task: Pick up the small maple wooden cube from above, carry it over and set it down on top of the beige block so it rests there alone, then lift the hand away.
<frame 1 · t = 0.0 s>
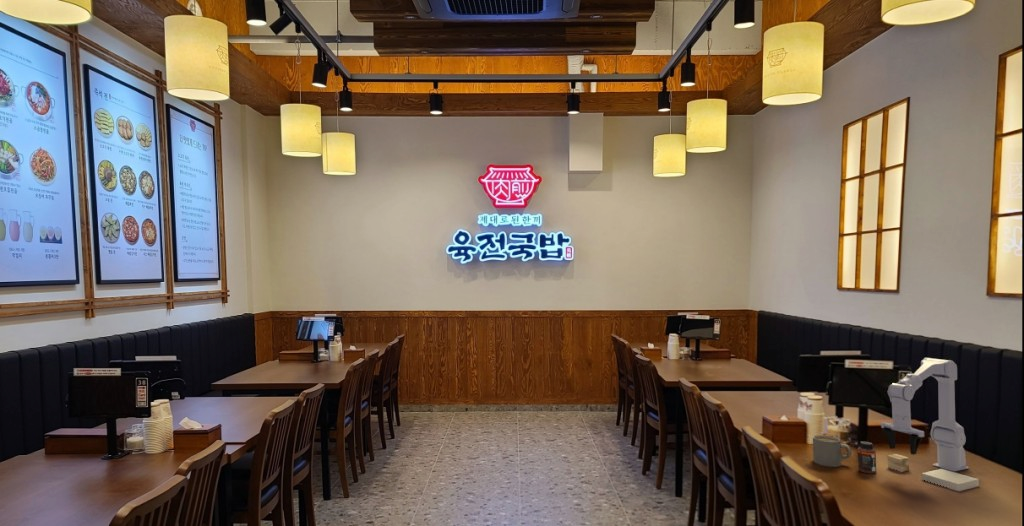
hand: (902, 451, 202), 10 cm above the table, tool pointing down, fingers open, 7 cm apart
coffee mug: (832, 463, 218), on the table
supplement bottle: (867, 472, 208), on the table
maple cube: (898, 469, 211), on the table
beige block: (950, 484, 196), on the table
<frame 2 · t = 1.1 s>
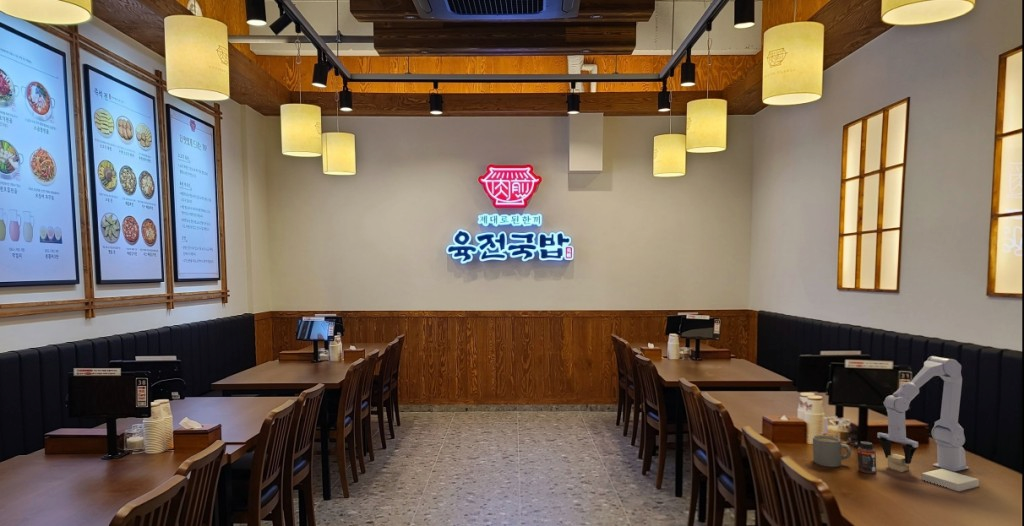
hand: (897, 460, 211), 3 cm above the table, tool pointing down, fingers open, 7 cm apart
nothing on the table moved.
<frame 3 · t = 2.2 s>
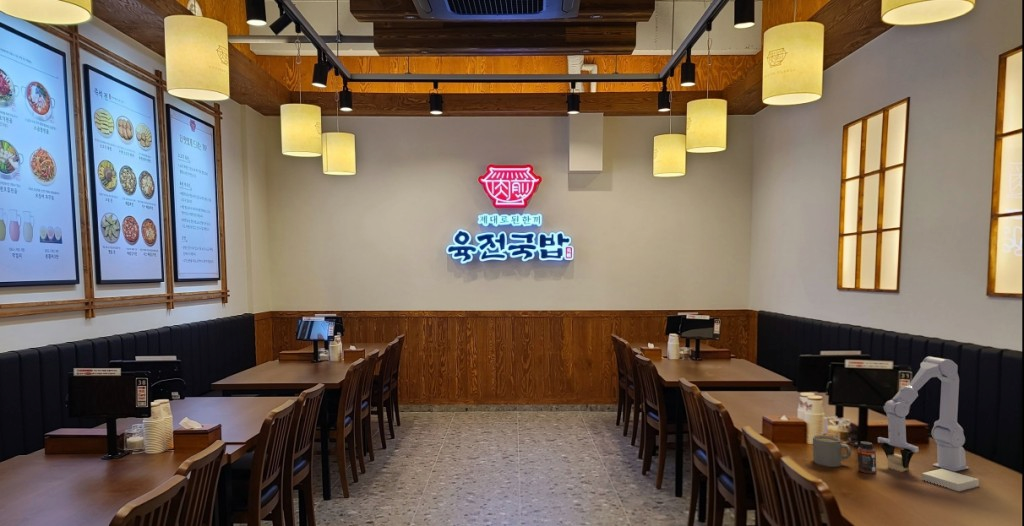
hand: (898, 465, 211), 1 cm above the table, tool pointing down, fingers closed on maple cube, 5 cm apart
maple cube: (898, 468, 211), on the table, touching gripper
everything else where it was.
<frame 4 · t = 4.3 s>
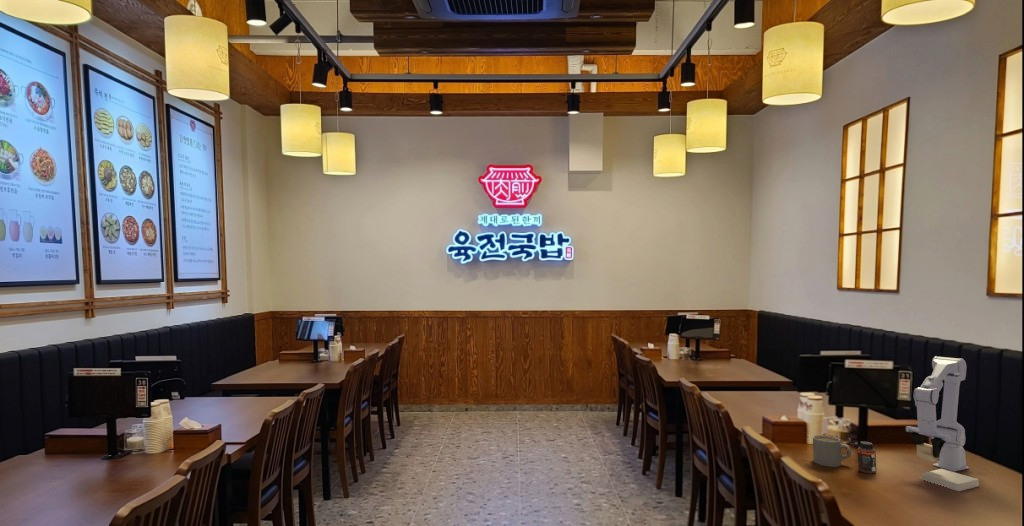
hand: (928, 455, 202), 8 cm above the table, tool pointing down, fingers closed on maple cube, 5 cm apart
maple cube: (928, 459, 202), point 7 cm above the table, touching gripper
everything else where it was.
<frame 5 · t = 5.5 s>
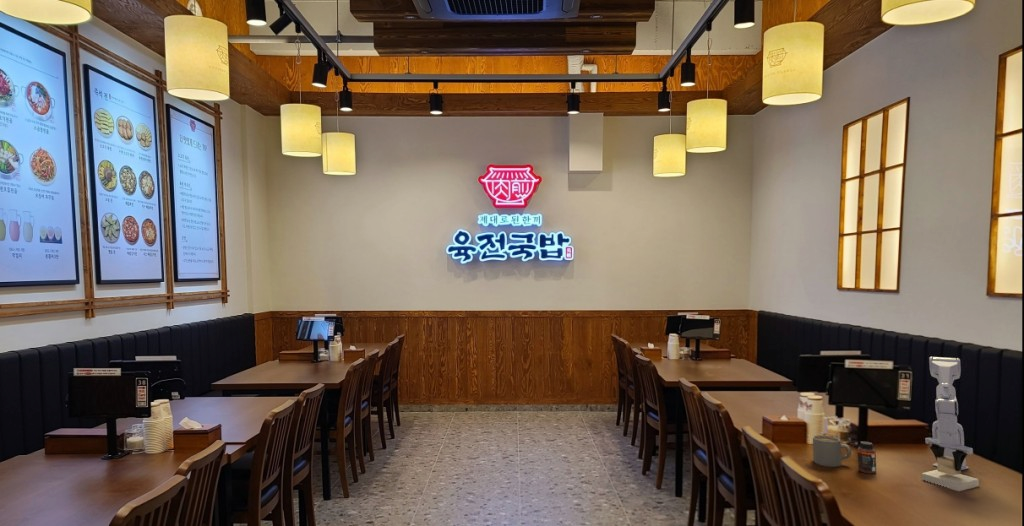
hand: (949, 468, 196), 5 cm above the table, tool pointing down, fingers closed on maple cube, 5 cm apart
maple cube: (949, 472, 196), point 4 cm above the table, touching gripper
everything else where it was.
when the fingers open (5 cm above the table, at t = 6.4 s): maple cube drops 1 cm, resting on beige block.
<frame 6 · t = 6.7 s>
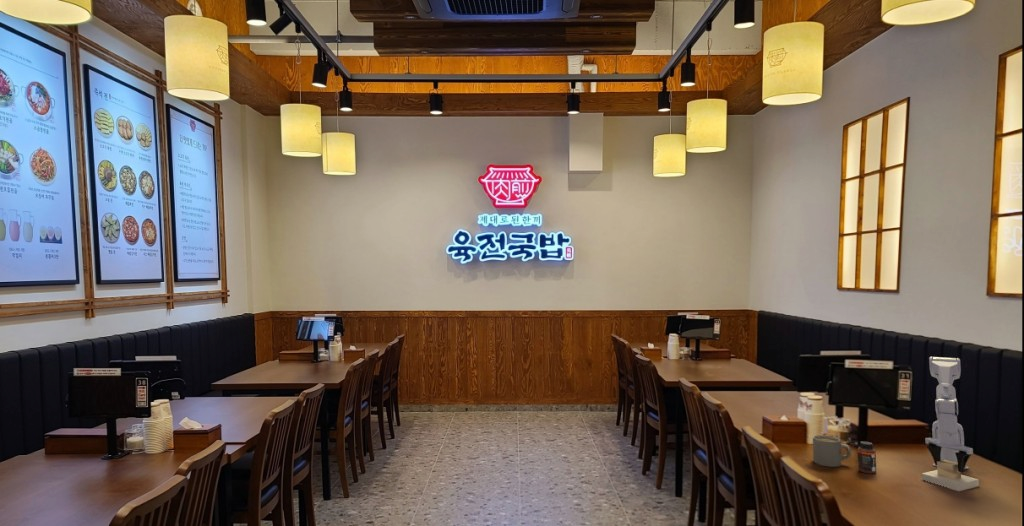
hand: (949, 468, 196), 5 cm above the table, tool pointing down, fingers open, 7 cm apart
maple cube: (949, 476, 196), point 2 cm above the table, touching beige block
beige block: (950, 484, 196), on the table, touching maple cube
everything else where it was.
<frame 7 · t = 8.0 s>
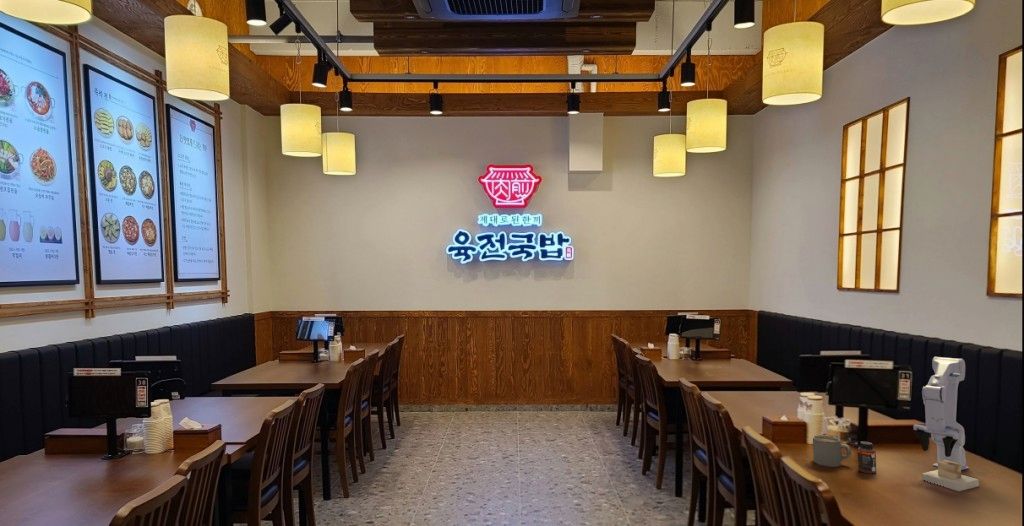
hand: (936, 453, 201), 9 cm above the table, tool pointing down, fingers open, 7 cm apart
maple cube: (949, 476, 196), point 2 cm above the table
beige block: (950, 484, 196), on the table
everything else where it was.
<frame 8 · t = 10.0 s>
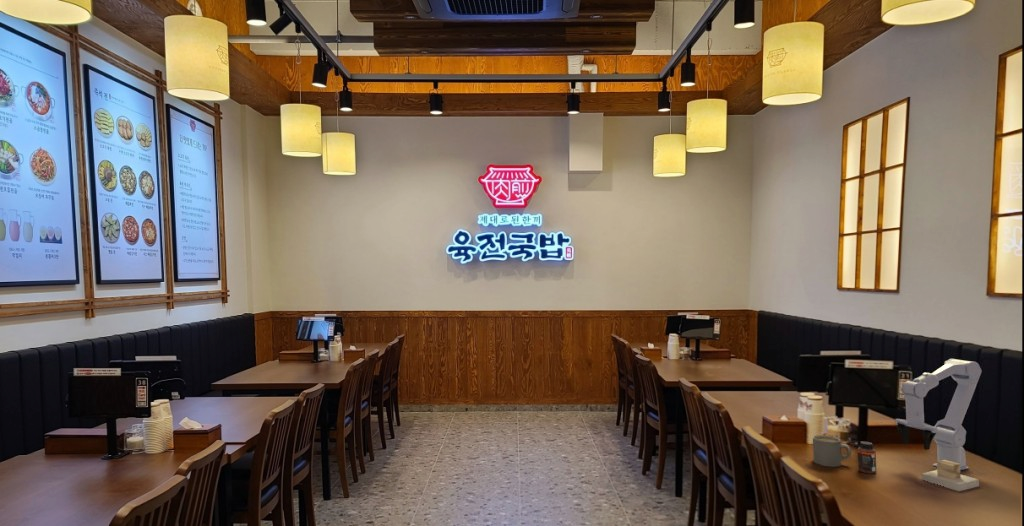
hand: (916, 446, 209), 9 cm above the table, tool pointing down, fingers open, 7 cm apart
nothing on the table moved.
at the end: maple cube inside the target area on the beige block (0.3 cm from its centre), point 3.0 cm above the beige block's base; maple cube tilted 0°; maple cube touching nothing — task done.
